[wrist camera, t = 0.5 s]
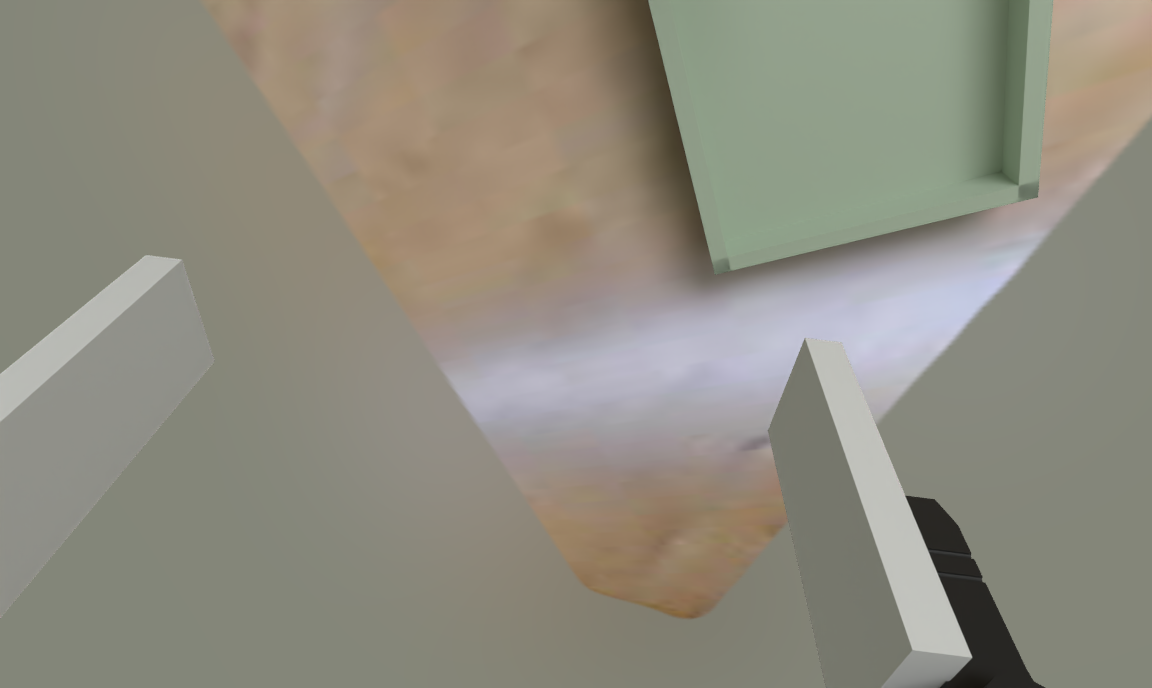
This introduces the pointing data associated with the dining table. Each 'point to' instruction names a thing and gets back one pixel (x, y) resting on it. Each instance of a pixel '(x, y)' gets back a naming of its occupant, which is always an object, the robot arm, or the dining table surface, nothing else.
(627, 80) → the dining table surface
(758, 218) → the tray
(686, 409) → the dining table surface
